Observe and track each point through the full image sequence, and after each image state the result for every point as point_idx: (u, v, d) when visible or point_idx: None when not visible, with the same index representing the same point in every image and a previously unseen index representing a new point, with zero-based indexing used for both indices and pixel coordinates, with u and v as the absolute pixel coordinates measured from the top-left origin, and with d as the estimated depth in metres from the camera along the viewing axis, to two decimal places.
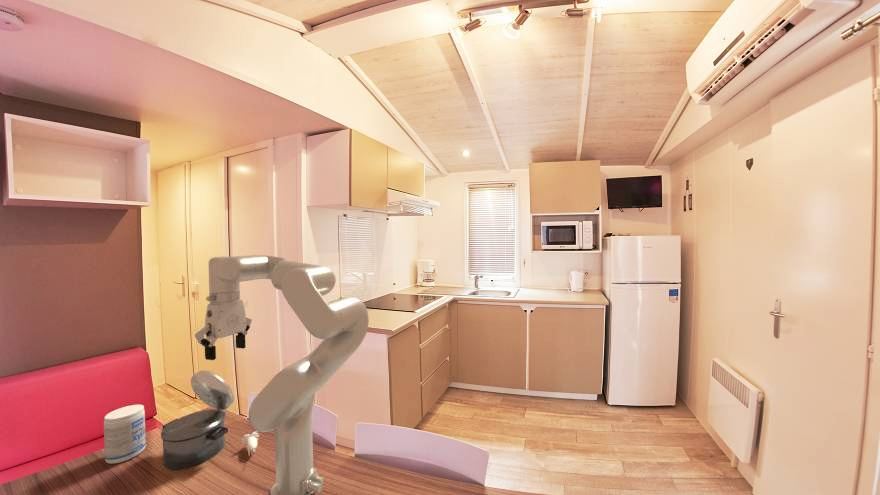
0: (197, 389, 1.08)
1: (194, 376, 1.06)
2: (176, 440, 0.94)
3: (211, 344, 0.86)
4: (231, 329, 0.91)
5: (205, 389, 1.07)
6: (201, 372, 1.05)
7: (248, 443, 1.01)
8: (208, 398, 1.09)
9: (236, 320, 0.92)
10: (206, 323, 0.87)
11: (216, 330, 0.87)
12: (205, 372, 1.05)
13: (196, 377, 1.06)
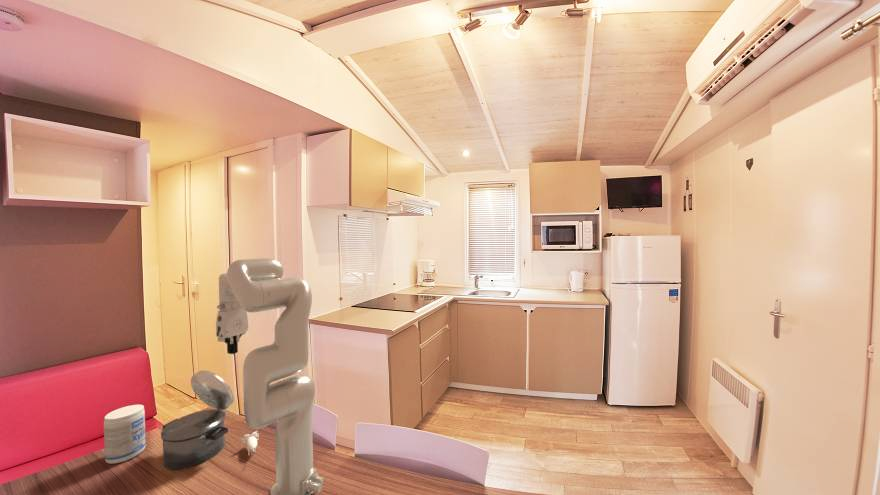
0: (197, 389, 1.08)
1: (194, 376, 1.06)
2: (176, 440, 0.94)
3: (232, 342, 1.14)
4: (236, 331, 1.14)
5: (205, 389, 1.07)
6: (201, 372, 1.05)
7: (248, 443, 1.01)
8: (208, 398, 1.09)
9: (240, 323, 1.16)
10: (217, 326, 1.11)
11: (225, 331, 1.10)
12: (205, 372, 1.05)
13: (196, 377, 1.06)
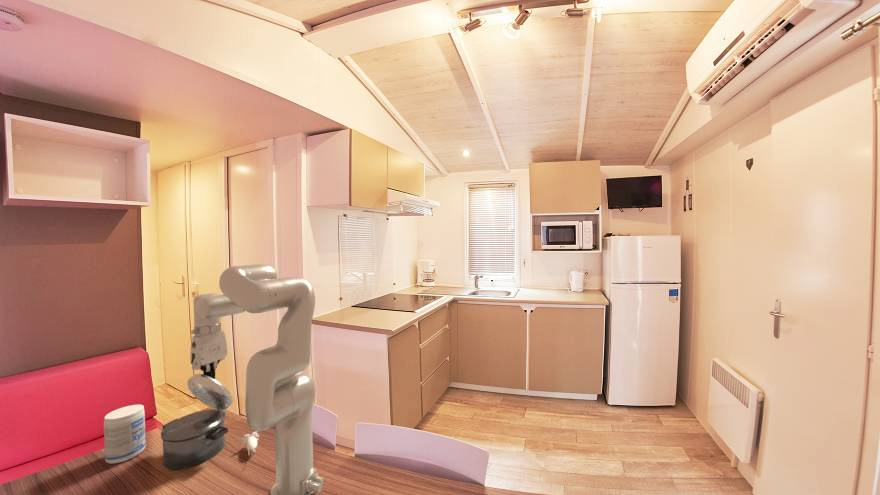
0: (195, 391, 1.08)
1: (190, 380, 1.05)
2: (176, 440, 0.94)
3: (208, 369, 1.05)
4: (213, 357, 1.05)
5: (202, 391, 1.06)
6: (196, 376, 1.03)
7: (248, 443, 1.01)
8: (207, 399, 1.08)
9: (218, 349, 1.07)
10: (191, 353, 1.02)
11: (199, 359, 1.01)
12: (200, 376, 1.03)
13: (192, 380, 1.04)
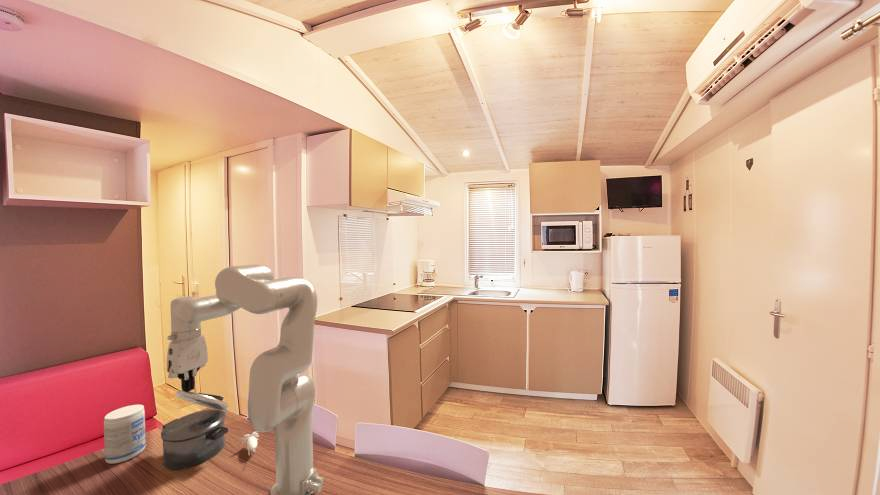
0: (187, 400, 1.05)
1: (176, 395, 1.01)
2: (176, 440, 0.94)
3: (186, 377, 0.98)
4: (192, 364, 0.99)
5: (194, 401, 1.04)
6: (181, 393, 0.99)
7: (248, 443, 1.01)
8: (202, 404, 1.07)
9: (197, 355, 1.00)
10: (167, 360, 0.95)
11: (176, 367, 0.95)
12: (185, 393, 0.98)
13: (178, 395, 1.00)
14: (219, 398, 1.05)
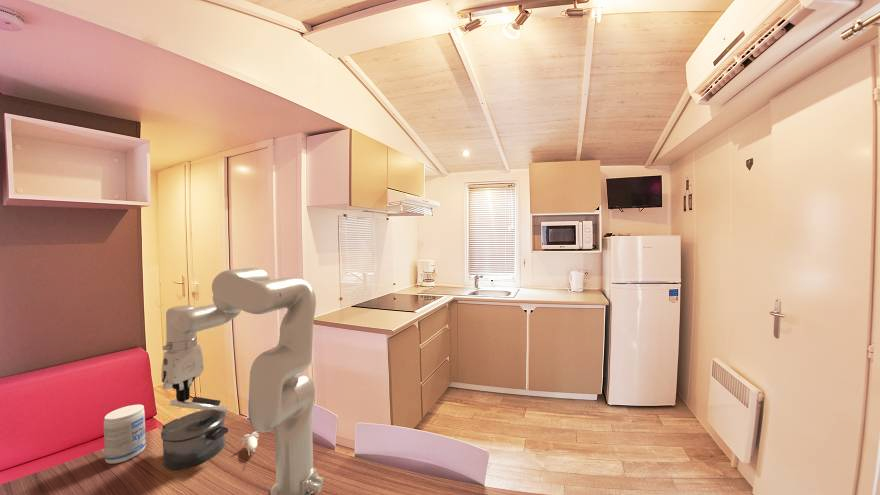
0: None
1: (170, 404, 0.99)
2: (176, 440, 0.94)
3: (181, 387, 0.97)
4: (187, 374, 0.97)
5: None
6: (174, 403, 0.97)
7: (248, 443, 1.01)
8: None
9: (192, 365, 0.99)
10: (162, 370, 0.94)
11: (171, 377, 0.93)
12: (178, 403, 0.96)
13: None
14: (216, 402, 1.04)
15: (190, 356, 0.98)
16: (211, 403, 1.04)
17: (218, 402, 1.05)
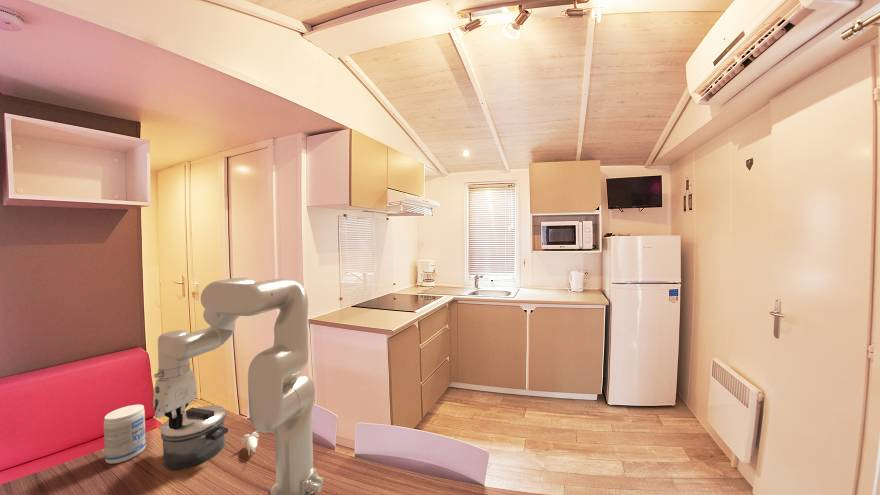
0: None
1: None
2: (176, 440, 0.94)
3: (174, 415, 0.95)
4: (180, 402, 0.95)
5: None
6: (165, 435, 0.94)
7: (248, 443, 1.01)
8: None
9: (185, 392, 0.97)
10: (154, 398, 0.92)
11: (163, 406, 0.91)
12: (169, 435, 0.94)
13: None
14: (209, 415, 1.02)
15: (183, 383, 0.96)
16: (205, 417, 1.02)
17: (212, 413, 1.03)
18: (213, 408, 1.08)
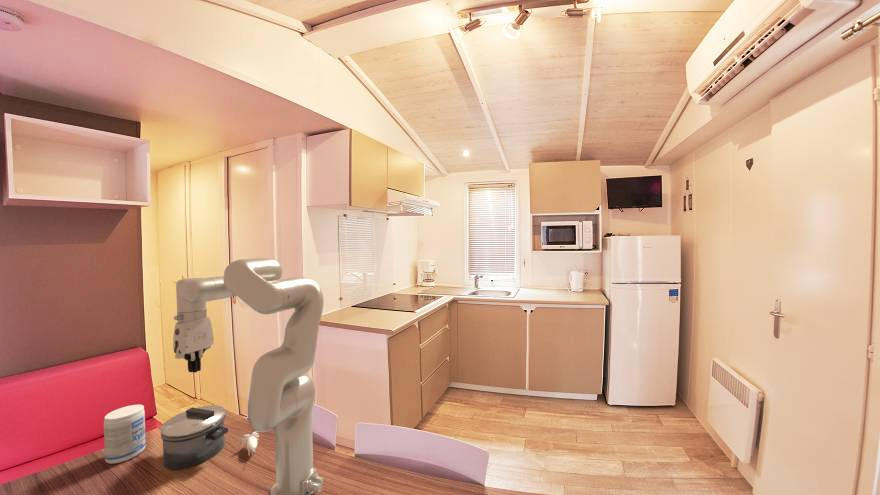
0: None
1: None
2: (176, 440, 0.94)
3: (193, 358, 0.98)
4: (198, 345, 0.99)
5: None
6: (165, 435, 0.94)
7: (248, 443, 1.01)
8: None
9: (203, 336, 1.00)
10: (174, 340, 0.95)
11: (183, 347, 0.94)
12: (169, 435, 0.94)
13: None
14: (209, 415, 1.02)
15: (201, 327, 0.99)
16: (205, 417, 1.02)
17: (212, 413, 1.03)
18: (213, 408, 1.08)
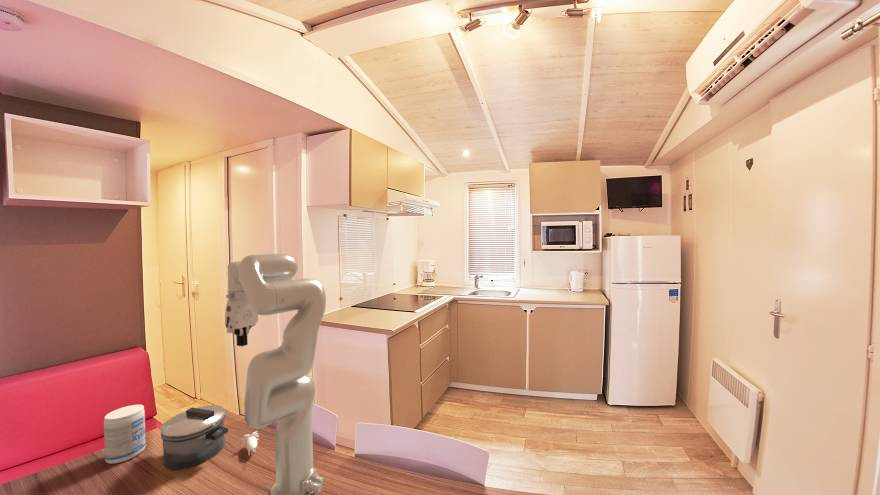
0: None
1: None
2: (176, 440, 0.94)
3: (241, 333, 1.09)
4: (246, 321, 1.09)
5: None
6: (165, 435, 0.94)
7: (248, 443, 1.01)
8: None
9: (250, 314, 1.11)
10: (226, 316, 1.06)
11: (234, 322, 1.05)
12: (169, 435, 0.94)
13: None
14: (209, 415, 1.02)
15: (248, 306, 1.10)
16: (205, 417, 1.02)
17: (212, 413, 1.03)
18: (213, 408, 1.08)
